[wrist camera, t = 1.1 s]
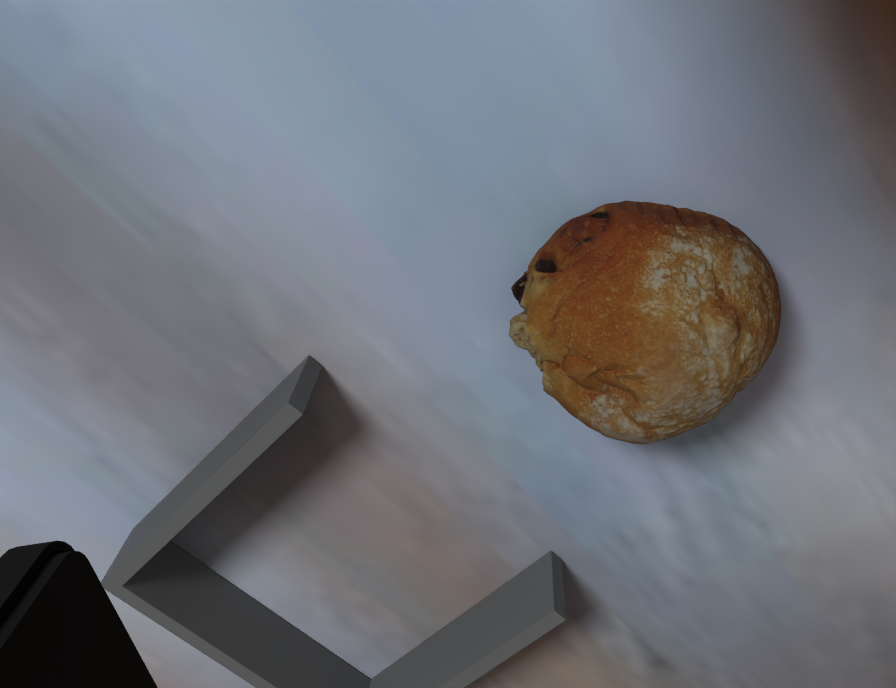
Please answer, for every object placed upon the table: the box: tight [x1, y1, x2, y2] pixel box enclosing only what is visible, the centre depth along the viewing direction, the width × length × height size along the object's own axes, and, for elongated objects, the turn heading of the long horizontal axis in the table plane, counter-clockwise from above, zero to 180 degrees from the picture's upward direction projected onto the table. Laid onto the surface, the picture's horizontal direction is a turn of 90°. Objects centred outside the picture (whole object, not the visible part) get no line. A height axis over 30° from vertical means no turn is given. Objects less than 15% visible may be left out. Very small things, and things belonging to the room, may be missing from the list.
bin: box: [101, 356, 566, 688], centre depth 41 cm, size 15×17×4 cm
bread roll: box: [509, 201, 781, 444], centre depth 34 cm, size 10×10×8 cm
